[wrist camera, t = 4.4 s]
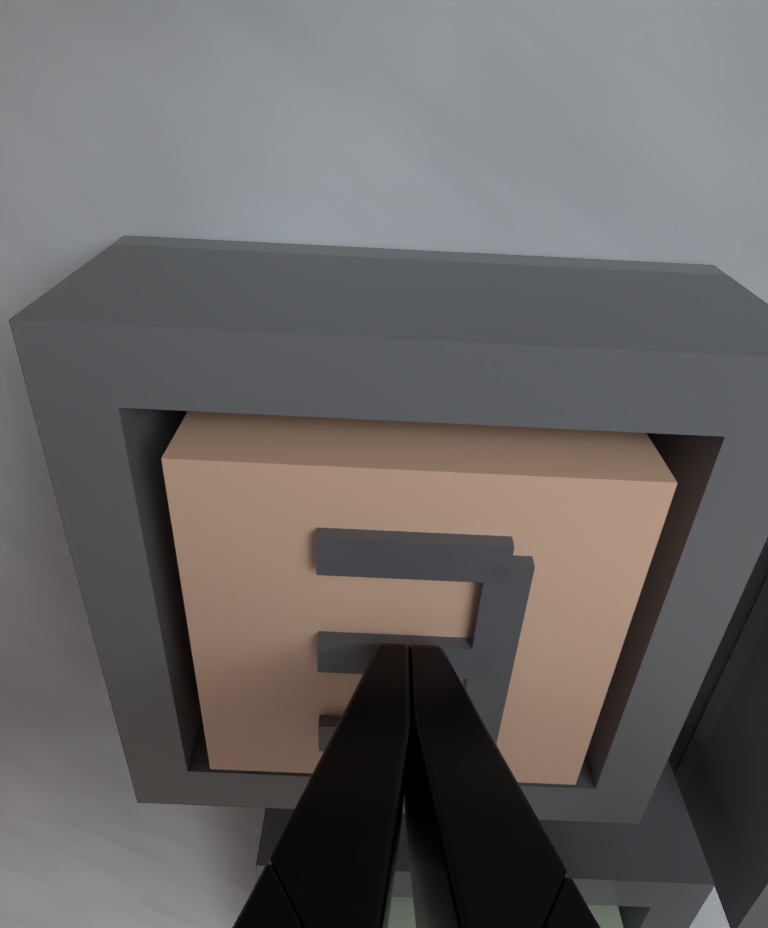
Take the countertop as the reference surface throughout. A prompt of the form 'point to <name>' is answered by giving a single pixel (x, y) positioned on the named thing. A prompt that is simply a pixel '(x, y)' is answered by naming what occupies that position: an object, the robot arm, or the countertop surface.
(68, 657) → the countertop surface
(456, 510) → the tile
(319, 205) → the countertop surface
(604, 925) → the tile
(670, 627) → the tile collars
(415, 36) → the countertop surface
